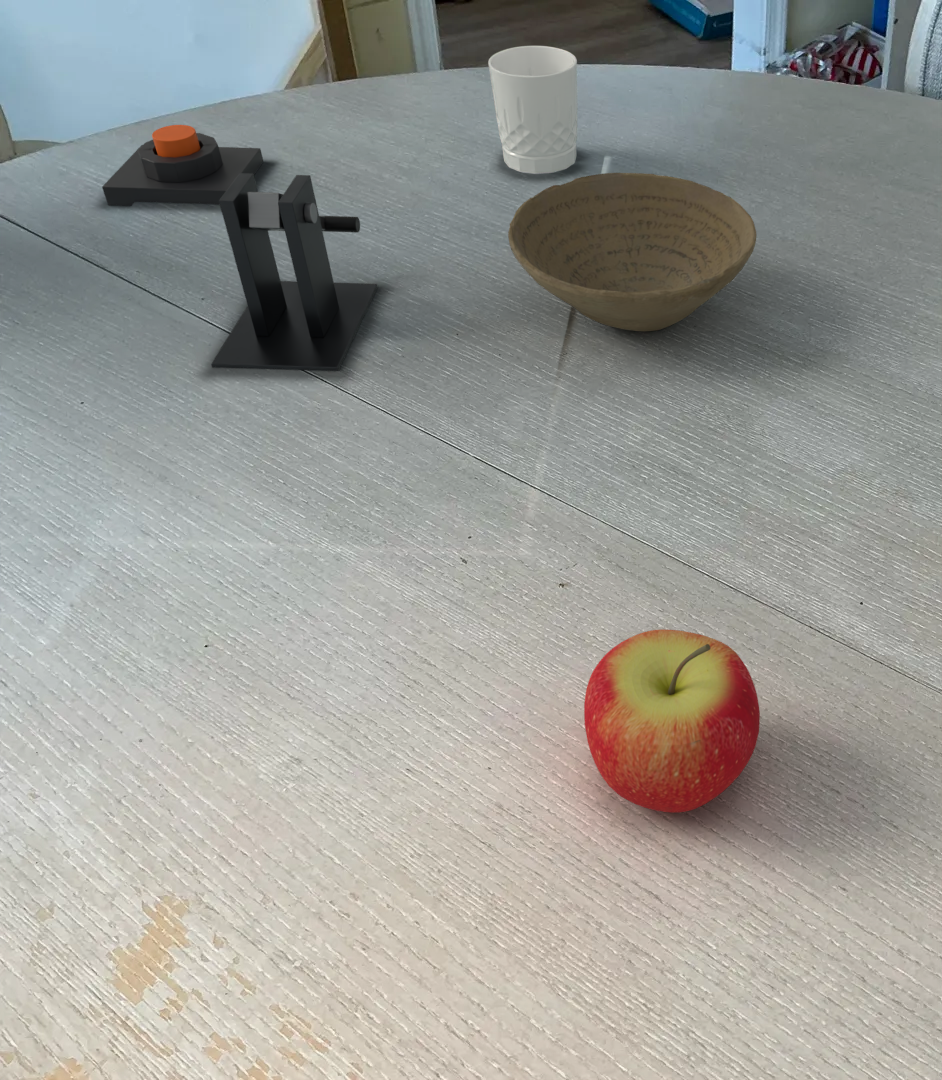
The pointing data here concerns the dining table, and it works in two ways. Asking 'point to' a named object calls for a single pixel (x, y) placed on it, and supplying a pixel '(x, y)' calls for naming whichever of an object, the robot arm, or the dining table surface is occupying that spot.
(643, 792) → the apple
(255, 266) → the bracket
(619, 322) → the bowl
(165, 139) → the button
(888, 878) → the dining table surface
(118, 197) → the button box
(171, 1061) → the dining table surface
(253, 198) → the lever
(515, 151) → the white cup
